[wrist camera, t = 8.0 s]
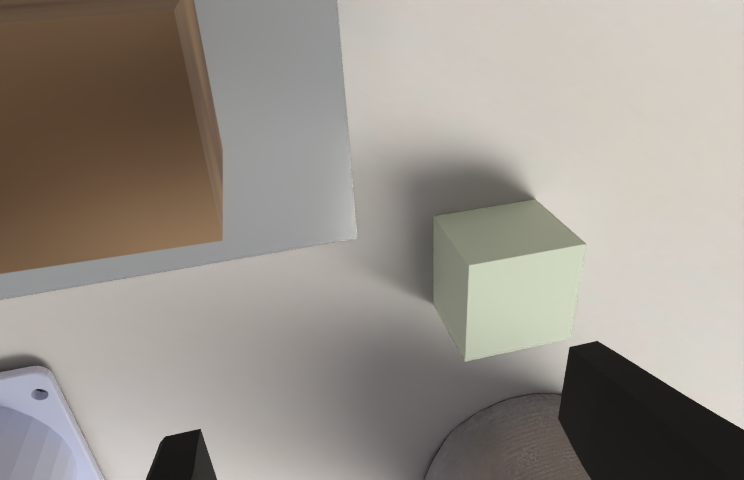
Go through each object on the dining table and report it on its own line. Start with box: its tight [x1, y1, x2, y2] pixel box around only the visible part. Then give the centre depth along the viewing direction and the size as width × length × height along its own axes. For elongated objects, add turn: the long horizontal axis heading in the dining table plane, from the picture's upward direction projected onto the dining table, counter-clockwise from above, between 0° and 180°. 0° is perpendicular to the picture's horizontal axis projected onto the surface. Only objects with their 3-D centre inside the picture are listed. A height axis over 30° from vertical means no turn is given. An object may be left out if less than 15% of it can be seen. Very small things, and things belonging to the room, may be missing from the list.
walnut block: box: [0, 0, 223, 274], centre depth 12 cm, size 4×4×6 cm
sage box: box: [433, 199, 586, 362], centre depth 20 cm, size 4×4×4 cm
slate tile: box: [0, 0, 357, 300], centre depth 15 cm, size 12×12×1 cm
